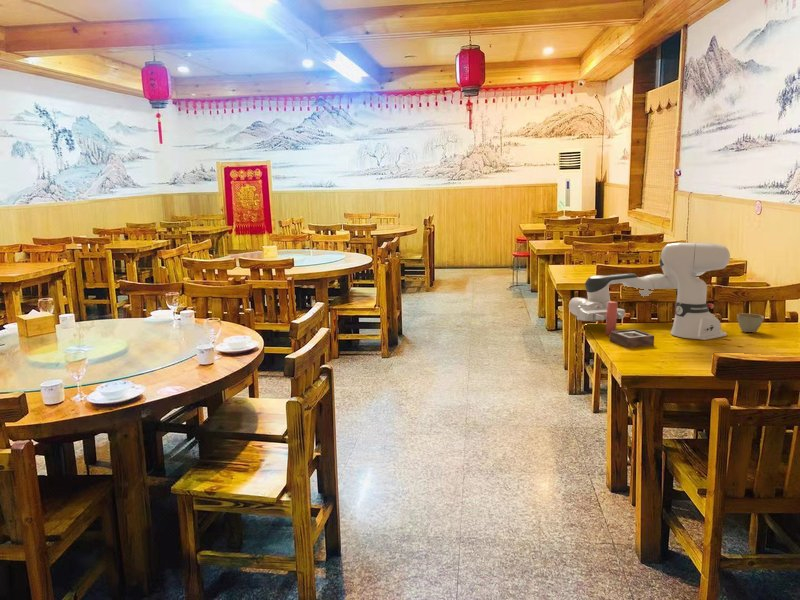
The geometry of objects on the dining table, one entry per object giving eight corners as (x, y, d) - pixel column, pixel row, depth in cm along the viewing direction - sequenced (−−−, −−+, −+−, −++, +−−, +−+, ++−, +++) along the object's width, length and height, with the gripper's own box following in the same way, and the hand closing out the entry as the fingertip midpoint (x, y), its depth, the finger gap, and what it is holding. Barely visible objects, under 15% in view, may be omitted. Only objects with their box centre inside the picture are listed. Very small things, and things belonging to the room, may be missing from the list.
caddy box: (634, 338, 262) (634, 329, 261) (653, 345, 251) (654, 335, 250) (609, 340, 259) (610, 331, 258) (628, 348, 247) (628, 338, 247)
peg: (611, 333, 271) (613, 301, 269) (617, 335, 268) (619, 302, 265) (603, 333, 270) (605, 301, 268) (609, 336, 267) (611, 303, 264)
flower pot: (756, 335, 264) (758, 319, 263) (731, 331, 271) (733, 315, 270) (765, 331, 270) (767, 315, 269) (741, 328, 278) (742, 312, 277)
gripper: (613, 316, 283) (633, 323, 270) (573, 320, 277) (592, 326, 264) (614, 302, 282) (634, 308, 269) (574, 306, 276) (592, 312, 263)
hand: (612, 317), depth 267 cm, fingers open, 7 cm apart
